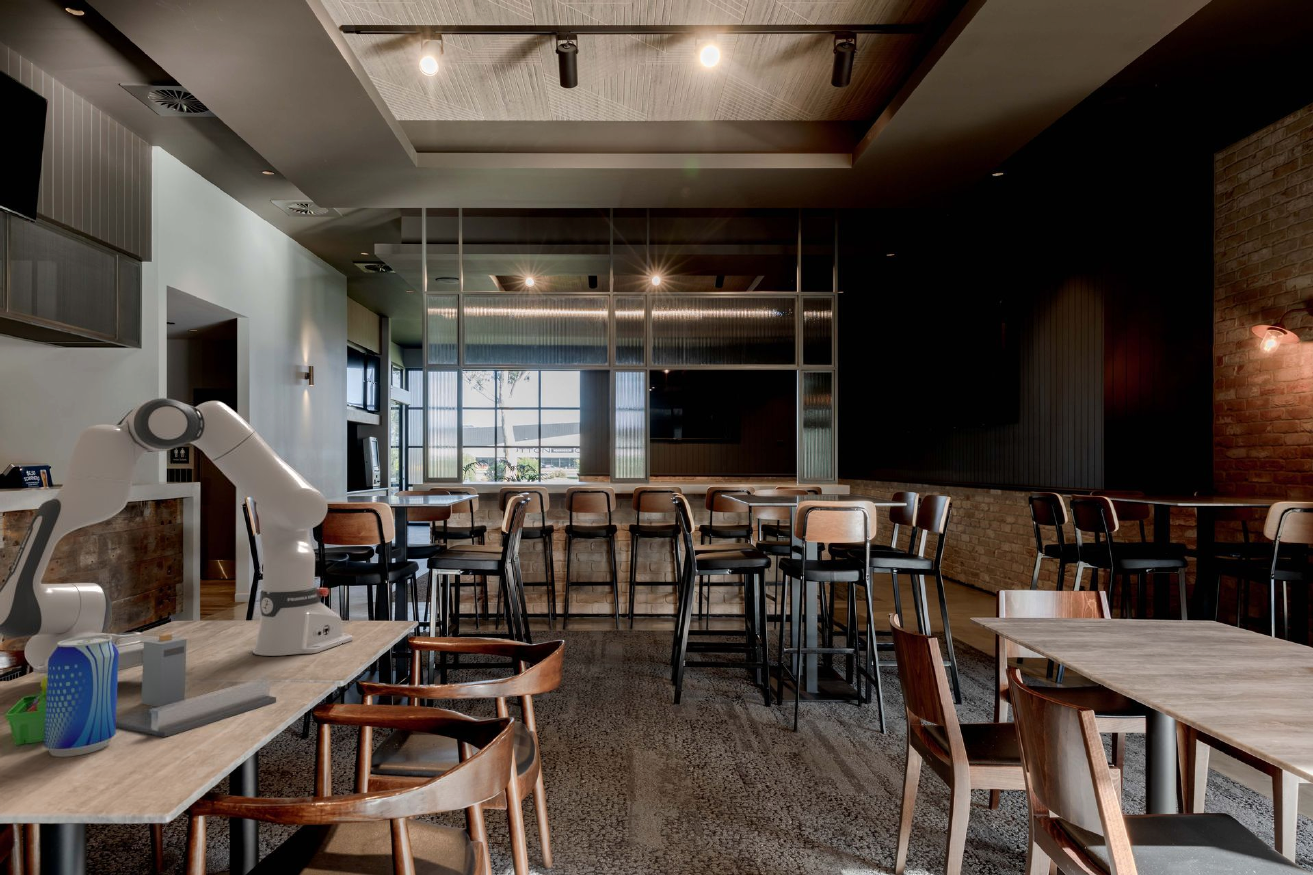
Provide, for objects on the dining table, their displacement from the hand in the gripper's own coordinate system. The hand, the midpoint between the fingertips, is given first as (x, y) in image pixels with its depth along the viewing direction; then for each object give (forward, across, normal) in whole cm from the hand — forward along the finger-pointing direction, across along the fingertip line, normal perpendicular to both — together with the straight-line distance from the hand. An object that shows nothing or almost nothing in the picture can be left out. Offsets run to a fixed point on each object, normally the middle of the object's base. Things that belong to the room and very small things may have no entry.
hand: (136, 663), depth 137 cm
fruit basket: (+8, -18, +6) cm, 21 cm away
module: (+8, 0, +6) cm, 10 cm away
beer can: (+20, -20, +6) cm, 29 cm away
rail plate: (+20, -2, +6) cm, 21 cm away
